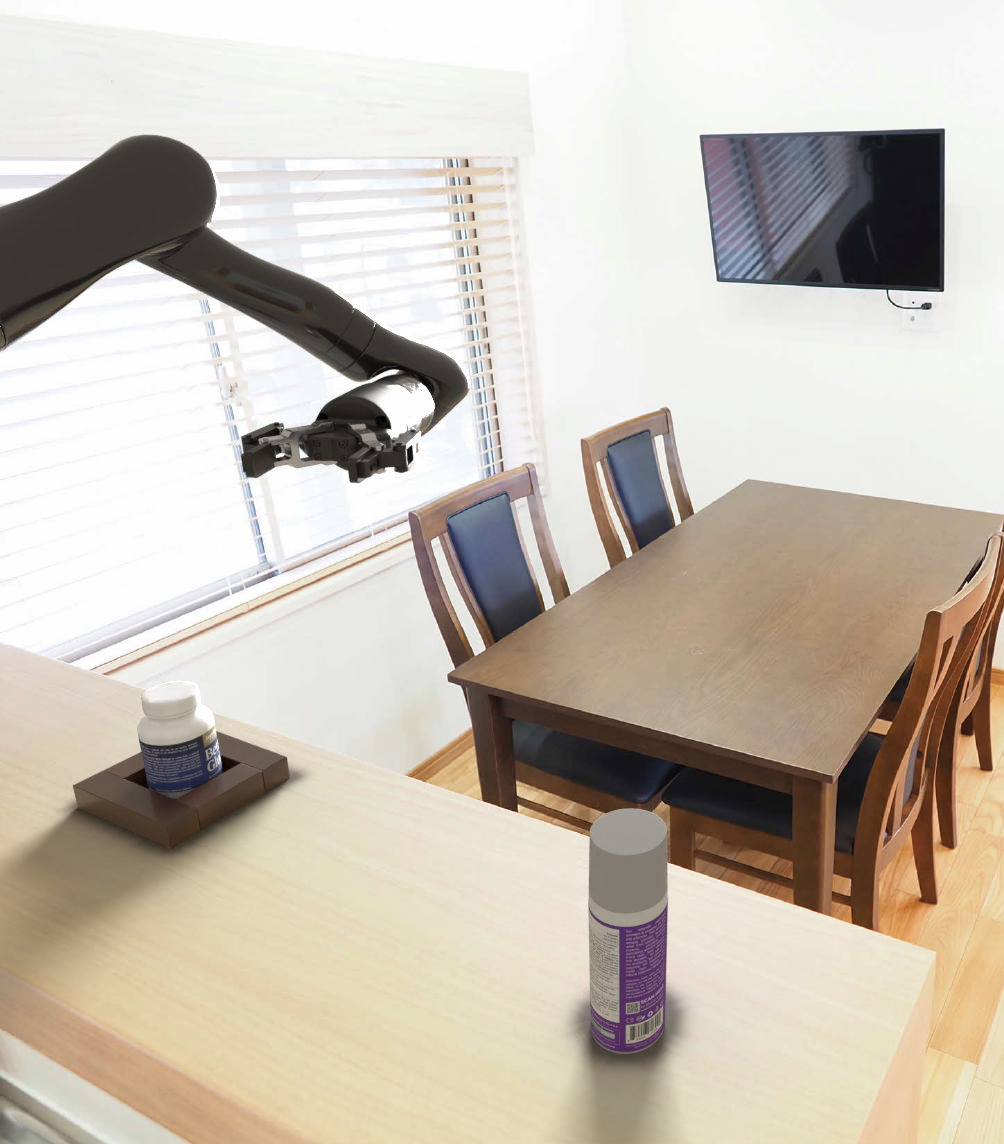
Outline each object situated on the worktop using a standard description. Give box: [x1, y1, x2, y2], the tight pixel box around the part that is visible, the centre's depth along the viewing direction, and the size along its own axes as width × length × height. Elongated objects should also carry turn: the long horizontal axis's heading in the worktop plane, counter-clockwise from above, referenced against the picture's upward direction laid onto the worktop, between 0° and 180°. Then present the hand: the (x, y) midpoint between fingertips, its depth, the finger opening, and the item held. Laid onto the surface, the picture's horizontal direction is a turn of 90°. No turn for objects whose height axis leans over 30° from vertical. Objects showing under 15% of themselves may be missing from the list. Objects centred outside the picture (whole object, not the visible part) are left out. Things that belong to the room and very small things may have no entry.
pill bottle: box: [136, 680, 223, 800], centre depth 79 cm, size 5×5×10 cm
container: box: [587, 808, 669, 1055], centre depth 58 cm, size 5×5×15 cm
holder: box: [72, 730, 291, 850], centre depth 80 cm, size 11×11×2 cm
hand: (300, 469), depth 81 cm, fingers open, 8 cm apart
